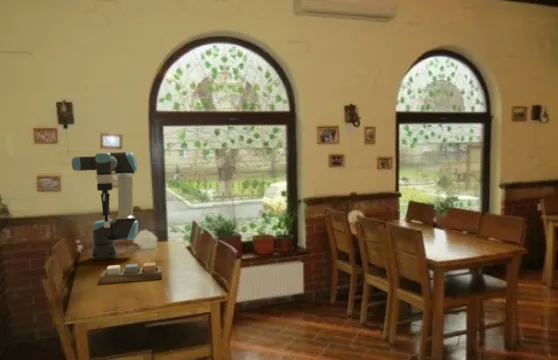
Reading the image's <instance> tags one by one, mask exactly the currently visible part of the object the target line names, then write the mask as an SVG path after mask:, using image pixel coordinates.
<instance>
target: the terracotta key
mask: <svg viewBox="0 0 558 360" xmlns="http://www.w3.org/2000/svg"><path fill="white" fill-rule="evenodd" d="M156 266H157V263H156V262H155V261H154V262H145V263H144V262H143V268H144V272H154V271H156Z"/></svg>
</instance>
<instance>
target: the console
mask: <svg viewBox="0 0 558 360" xmlns="http://www.w3.org/2000/svg"><path fill="white" fill-rule="evenodd" d="M120 269H121V274H116V275H107V269H105V270H102V272H101V274H100V276H99V279H100V281H99V282H100V284H101V285H102V284H111V283H112V284H113V283H123V282H139V281H148V280H159V279H161V280H162V278H163V277H162V276H163V269H162V265H156V271H154V272H144V268H143V267H138V273H129V274H126V272H125V268H120Z"/></svg>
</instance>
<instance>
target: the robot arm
mask: <svg viewBox="0 0 558 360" xmlns="http://www.w3.org/2000/svg"><path fill="white" fill-rule="evenodd" d="M71 168H72V170H73V171H75V172H77V171H78V172H82V171H83V172H84V171H85V172H86V171H96V172H95V173H96V176H95V177H94V178H95V179H96V182H97V184H96V190H97V191H99V192H101V193H100V200H101V206H102V214H101V216H103V219H101V220H97V221H95V222H93V223H92V240H93V241H92V242H93V243H92V244H93V247H92V250H91V254H90V256H91V257H90V259H91V260H93V261H108V260H112V259H116V258H117V257H118V251H117V249H116V247H115V244H114V242H115V241H129V240H135V239H136V238H137V236H138V233H139V225H140V224H139V220H137V219H136V217H135V215H134V208H133V207H134V206H133V204H134V202H133V198H134V197H133V177H134V175H135V173H136V171H138V162H137V156H136V155H135V154H134V153H133V152H127V151H126V152H125V151H123V152H121V151H120V152H97V153H96V154H95V155H94V156H91V155H89V156H73V158H72V160H71ZM113 172H114V174H115V176H116V177H117V202H118V203H117V210H118V211H117V212H118V213H117V217H116V218H115V221H114V220H113V219H112V218H110V215H111V211H110V197H111V196H110V195H111V194H110V193H109V191H112V190H113V188H114V187H113Z"/></svg>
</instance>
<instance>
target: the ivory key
mask: <svg viewBox="0 0 558 360" xmlns="http://www.w3.org/2000/svg"><path fill="white" fill-rule="evenodd" d="M121 269H122V268H121V265H120V264H117V265H115V264H114V265H107V268H106V270H107V275H116V274H121Z"/></svg>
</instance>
